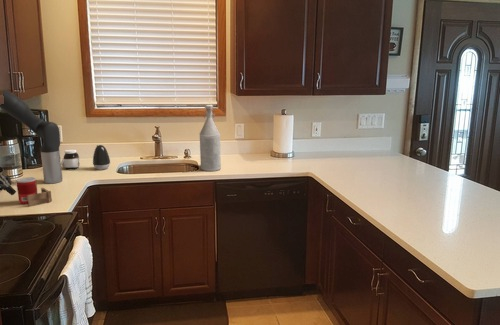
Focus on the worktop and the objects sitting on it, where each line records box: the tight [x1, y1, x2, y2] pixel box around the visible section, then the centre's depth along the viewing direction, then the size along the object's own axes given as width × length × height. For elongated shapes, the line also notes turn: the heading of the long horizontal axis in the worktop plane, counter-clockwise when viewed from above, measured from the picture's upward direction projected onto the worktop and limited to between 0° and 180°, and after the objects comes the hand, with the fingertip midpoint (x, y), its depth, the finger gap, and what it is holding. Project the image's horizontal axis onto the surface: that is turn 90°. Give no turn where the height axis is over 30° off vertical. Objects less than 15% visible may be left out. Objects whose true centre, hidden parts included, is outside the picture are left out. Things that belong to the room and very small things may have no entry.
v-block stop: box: [27, 187, 53, 207], centre depth 193 cm, size 13×7×5 cm, turn 179°
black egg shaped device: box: [92, 144, 111, 171], centre depth 256 cm, size 10×10×15 cm
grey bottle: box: [199, 104, 222, 172], centre depth 254 cm, size 13×17×40 cm
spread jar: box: [60, 149, 81, 170], centre depth 259 cm, size 12×11×12 cm
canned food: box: [16, 176, 39, 205], centre depth 192 cm, size 8×8×11 cm
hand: (14, 193), depth 193 cm, fingers closed
